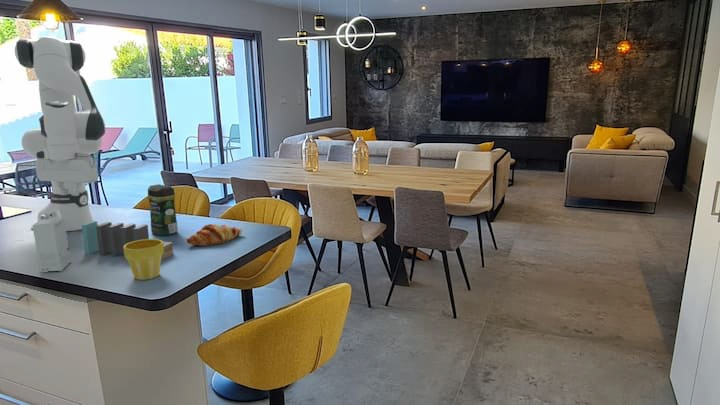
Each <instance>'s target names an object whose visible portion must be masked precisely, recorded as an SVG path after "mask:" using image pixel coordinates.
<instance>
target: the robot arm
mask: <svg viewBox="0 0 720 405" xmlns="http://www.w3.org/2000/svg"><path fill="white" fill-rule="evenodd" d="M14 46H15V47H14V56H15V58H16V60H17V62H18V63H19V65H20V66H22V67H24V68H28V69H34V72H35V73H34V74H35V76H36V79H37V80H38V92H39V100H40V107H41V112H42V114H43V115H42V116H41V115H40V116H41V117H39V118H38V122H39V125H40V127H39V128H34V129H29V130H26V131H25V132H24V133H23V135H22V137H21V146H22V149H23V150H24V152H25V154H27V155H28V156H30V157H32V158H34V159H36V161H35V163H34V164H35V172H36V178H37V179H38V180H39V181H42V182H50V183H51V188H52V193H50V194H47V196H48V197H47V198H48V199H49V198H50V201H49V202H48V204H47V205H46V206H44V207H43V208H42V209H41V210H40V211H39V212H38V214H37V222H38V221H41V220H43V219H48V218H62V217H64V220H65V227H66V232H72V231H74V232H75V231H81V230H82V225H83V224H86V223H89V222H92V221H95V220H94V218H93V215H92V212H91V208H90V204H89V193H88V190H87V189H86V188H87V187H86V186H87V185H86V184H91V183H96V182H97V181H98V179H99V176H98V170H97V167H96V163H95V159H94V157H93V156H92V154H95V153H98V152H99V150H100V149H101V147H102V144H103V143H102V142H103V141H102V137H103V136H104V135H105V133H106V123H105V120H104V118H103V116H102V115H101V112H100V110H99V109H98V107H97V105H96V102H95V100H94V96H93V95H92V92H91V90H90V87H89V85H88V83H87V82H86V79H85V78H84V76H83V75H81V74H79V73H77V72H78V71H80V70H81V69H82V68H83V67H84V66H85V65H84V64H85V62H86V53H85V49H84V48H83V46H82V44H81V43H80V42H78V41H75V40H66V39H65V40H64V39H59V38H57V37H54V36H50V35H48V36H47V35H45V36H41V37H38V38H31V39H30V38H21V39H18V41H17V42H16V44H15V45H14ZM75 97H76V98H77V99H78V100H79V103H80V105H81V107H82V110H80V111H79V110H78V111H77V108H76V103H75ZM30 228H31V230H33V225H31V226H30Z"/></svg>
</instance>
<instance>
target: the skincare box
mask: <svg viewBox="0 0 720 405" xmlns="http://www.w3.org/2000/svg"><path fill="white" fill-rule="evenodd" d="M32 226H33V229H32V230H33V238H34V241H35V243H34V244H35V247H36V248H35V249H36V254H37V261H38V266H39V272H40V273H49V272H48V271H59V272H62V271H63V270H64V269H65V268H66V267H67V266H69V265H70V264H72V259H71V252H70V247H69V246H70V245H69V239H68V235H67V231H66V227H65V220H64V217H62V218H48V219H43V220H41V221H38V220H37V222H36V223H34V224H32ZM69 263H70V264H69ZM61 270H62V271H61Z"/></svg>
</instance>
